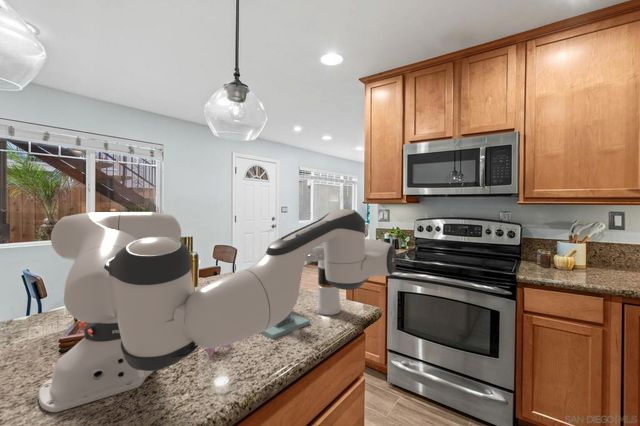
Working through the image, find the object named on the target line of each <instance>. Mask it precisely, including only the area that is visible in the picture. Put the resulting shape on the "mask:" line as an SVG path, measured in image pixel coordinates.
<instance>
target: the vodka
mask: <svg viewBox="0 0 640 426" xmlns="http://www.w3.org/2000/svg"><path fill="white" fill-rule="evenodd" d="M317 267H318V271H317V273H318V275H317V281H318V284H317V301H316V309H315V310H316V312H317V313H318V314H320V315H323V316H334V315H338V314H339V313H340V312H341V308H342V306H341V299H340V298H341V297H340V289H339V288H336V287H334V286H333V285H331V284H330V283H329V282H328V281H327V280H326V276H325V263H324V260H321V261H317Z"/></svg>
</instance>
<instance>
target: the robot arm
mask: <svg viewBox="0 0 640 426" xmlns="http://www.w3.org/2000/svg"><path fill="white" fill-rule="evenodd" d="M365 234H366V220H365V219H364V217H362V215H361V214H360V213H359V212H357V211H356V210H355V209H349V208H342V209H336V210H333V211H331V212H328V213H326V214H325V215H323V217H321V218H319V219H317V220H315V221H313V222H311V223H309V224H307V225H305V226H303V227H300V228H298V229H296V230H294V231H292V232H290V233H287V234H286V235H283V236H282V237H280V238H278V239H276V240H275V241H272V243H269V245H268V247H267V249H266V251H265V253H264V255H263V256H262V257H260V259H259V260H257V261H256V262H255V263H254V264H253V265H251V266H250V267H248V268H245V269H242V270H239V271H236V272H233V273H231V274H228V275H225V276H223V277H220V278H218V279H216V280H213V281H212V282H209V283H207V284H206V285H203V286H195V287H194V282H193V276H192V268H193V261H192V257H191V253H190V250H189V248H188V246H187V245H186V244H185V243H183V242H181V238H182V230H181V226H180V223H179V221H178V220H177V218H176V217H175V216H173V215H172V214H168V213H163V212H155V211H119V212H118V211H114V212H113V211H111V212H110V211H109V212H99V211H98V212H84V213H77V214H72V215H71V214H70V215H67V216H66V215H65V216H63V217H61V218H60V219H59V220H58V221H57V222H56V223H55V225H54V226H53V228H52V229H51V233H50V242H51V246H52V248H53V250H54V251H55V253H56V254H57V255H58V256H60V258H62V259H66V260H70V261H74V262H73V263H72V266H71V267H70V270H69V272H68V275H67V278H66V281H65V284H64V285H65V286H64V292H63V304H64V307H65V309H66V311H67V312H68V313H69V314H70V315H71V317H73V318H74V319H76V320H77V321H79V323H78V328H80V330H81V331H83V336H84V338H82V339H81V340H79V342H77V343H76V344H75V345H74V346H73V347H71V349H69V350H68V351H67V352H65V353H64V354H63V355H62V356H60V358H59V359H58V360H57V362H56V364H55V366H54V369H53V373H52V378H48V379H47V380H46V381H45V382H44V383H43V384H42V385H41V387H40V388H39V390H38V398H37V399H38V403H39V405H40V407H41V408H42V409H43V410H45V411H47V412H49V413H60V412H62V411H65V410H69V409H73V408H75V407H79V406H82V405H86V404H89V403H92V402H95V401H98V400H101V399H104V398H107V397H110V396H111V397H112V396H115V395H118V394H121V393H124V392H127V391H131V390H134V389H137V388H140V387H141V386H142V385H143V383H144V382H145V380H146V379H147V378H148V377H149V376H150V375H152V374H153V373H154V372H155V371H160V370H163V369H166V368H169V367H171V366H173V365H175V364H176V363H179V362H180V361H182V360H183V359H184V358H187V357H188V356H190V355H192V353H194V352H195V351H196V350H197V349H198V347H200V348H203V349H207V348H208V349H211V348H215V349H216V348H220V347H221V346H225V345H228V344H231V345H232V344H235V343H237V342H240V341H243V340H247V339H249V338H251V337H253V336H255V335H258V334H261V333H260V332H262V331H265V330H267V329H269V328H271V327H273V326H275V325H277V324H278V323H280V322H281V321H283V320H284V319H285V318H286V317H287V316H288V315H289V314H290V313H292V312H293V310H294V309H295V306H296V304H297V301H298V298H299V294H300V288H301V283H302V282H301V281H302V276H303V275H302V274H303V270H304V267H305V262H318V261H321V260H324V263H325V276H326V280H327V281H328V282H329V283H330V284H331V285H333V286H334V287H336V288H339V290H343V291H345V290H346V291H354V290H358V289H359V288H361V287H362V286H363V285H364V284H365V283H366V282H367V281H368V280H369V279H370V278H373V277H388V276H391V275H393V274H394V272H395V270H396V266H397V251H396V248H395V246H394V245H393V244H391V243H389V242H387V241H383V240H377V239H371V238H365ZM221 348H222V347H221Z"/></svg>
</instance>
